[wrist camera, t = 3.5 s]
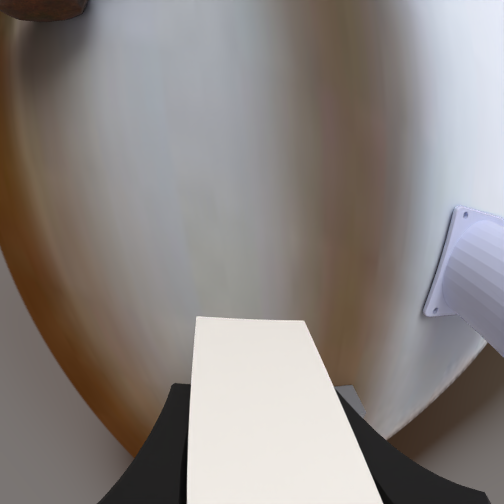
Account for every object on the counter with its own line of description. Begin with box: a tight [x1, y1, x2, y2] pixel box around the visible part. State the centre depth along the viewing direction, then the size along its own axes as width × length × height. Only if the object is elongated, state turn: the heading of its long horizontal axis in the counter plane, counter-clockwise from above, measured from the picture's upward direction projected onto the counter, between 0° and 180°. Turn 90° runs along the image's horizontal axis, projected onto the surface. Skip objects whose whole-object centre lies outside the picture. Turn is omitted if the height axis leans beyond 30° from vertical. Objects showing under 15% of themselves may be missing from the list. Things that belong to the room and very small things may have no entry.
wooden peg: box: [187, 316, 383, 504], centre depth 8 cm, size 4×4×8 cm
